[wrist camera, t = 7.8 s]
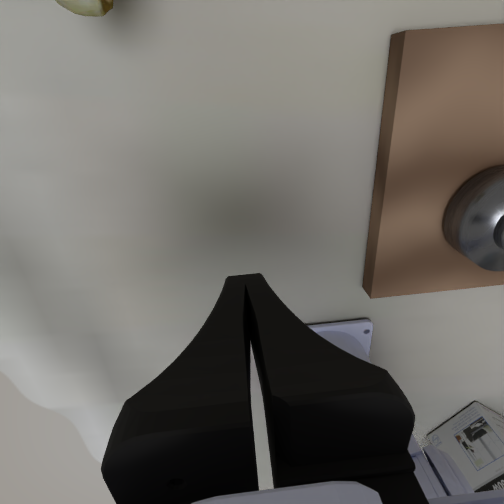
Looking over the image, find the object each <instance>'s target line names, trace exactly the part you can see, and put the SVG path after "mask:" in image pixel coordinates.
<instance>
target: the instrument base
mask: <svg viewBox="0 0 504 504" xmlns="http://www.w3.org/2000/svg"><path fill="white" fill-rule="evenodd" d="M502 165H504V24H491V25H477V26H463V27H448V28H434V29H420V30H406V31H402V32H399V33H396V34H392V35H391V42H390V51H389V60H388V68H387V77H386V86H385V95H384V103H383V112H382V121H381V129H380V138H379V147H378V156H377V164H376V173H375V182H374V191H373V199H372V208H371V217H370V226H369V234H368V243H367V252H366V260H365V269H364V278H363V288H364V290H365V291H366V293H367V294H368V296H369V297H370V299H372V298H381V297H391V296H400V295H409V294H419V293H428V292H438V291H447V290H457V289H466V288H475V287H485V286H494V285H504V271H489V270H485V269H483V268H481V267H479V266H478V265H476V264H475V263H474V262H472V261H471V260H469V259H468V258H467V257H465V256H464V255H462V254H461V253H459V252H458V251H457V250H455V249H454V248H453V247H452V246H451V245H450V244H449V243H448V241H447V239H446V237H445V233H444V220H445V215H446V212H447V209H448V207H449V205H450V203H451V202H452V200H453V198H454V197H455V195H456V194H457V193H458V191H459V190H460V189H461V188H462V187H463V186H464V185H465V184H466V183H467V182H468V181H470V180H471V179H472V178H474V177H475V176H477V175H478V174H480V173H482V172H484V171H486V170H488V169H491V168H493V167H497V166H502Z"/></svg>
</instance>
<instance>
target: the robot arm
mask: <svg viewBox="0 0 504 504" xmlns="http://www.w3.org/2000/svg"><path fill="white" fill-rule="evenodd" d="M366 329H367V330H366ZM364 330H366V331H364ZM372 331H373V323H372V322H371V320H369V319H364V320H355V321H345V322H336V323H327V324H318V325H309V326H307V325H306V324H304V323H303V322H302V321H301V320H300V319H299V318H298V317H297V316H295V315H294V314H293V313H292V312H291V311H290V310H289V309H288V308H287V306H286V305H285V304H284V303H283V302H282V301H281V300H280V299H279V297H278V296H277V295H276V294H275V293H274V291H273V290H272V289H271V287H270V286H269V285H268V283H267V282H266V280H265V278H264V277H263V275H262V274H260V273H256V274H246V275H237V276H228V277H227V278H226V280H225V284H224V287H223V289H222V292H221V294H220V296H219V298H218V300H217V302H216V304H215V306H214V308H213V310H212V312H211V313H210V315H209V317H208V318H207V320H206V322H205V323H204V325H203V326H202V328H201V329H200V331H199V332H198V334H197V335H196V336H195V337H194V339H193V340H192V341H191V343H190V344H189V345H188V346H187V347H186V348H185V350H184V351H183V352H182V353H181V354H180V355H179V356H178V357H177V359H176V360H175V361H174V362H173V363H172V364H170V365H169V366H168V367H167V368H166V369H165V370H164V371H163V372H162V373H161V374H160V375H159V376H158V377H156V378H155V379H154V380H153V381H152V382H150V383H149V384H148V385H146V386H145V387H144V388H142V389H141V390H140V391H139V392H137V393H136V394H135V395H133V396H132V397H131V398H129V399H128V400H126V401H125V403H124V405H123V407H122V410H121V412H120V414H119V416H118V418H117V420H116V423H115V425H114V427H113V430H112V433H111V435H110V438H109V442H108V445H107V448H106V451H105V455H104V458H103V462H102V466H101V472H102V475H103V479H104V481H105V483H106V484H107V486H108V488H109V490H110V492H111V494H112V496H113V498H114V500H115V502H116V504H504V489H498V490H491V491H483V492H476V493H475V492H474V490H473V489H472V487H471V486H470V484H469V482H468V481H467V479H466V478H465V476H464V475H463V473H462V472H461V470H460V469H459V467H458V466H457V464H456V463H455V462H454V460H453V459H452V458H451V456H450V455H449V454H447V453H446V452H444V451H442V450H440V449H437V448H436V447H435V446H434V445H428V446H426V447H423V450H424V453H425V455H426V457H427V459H426V458H425V456H424V454H423V453H422V451H421V449H420V447H419V445H418V443H417V441H416V440H415V438H414V436H413V434H412V431H413V428H414V422H415V414H414V412H413V409H412V407H411V405H410V403H409V401H408V400H407V398H406V396H405V395H404V393H403V392H402V390H401V389H400V388H399V386H398V385H397V383H396V382H395V381H394V379H393V378H392V377H391V376H390V374H389V373H388V372H387V371H386V370H384V369H382V368H380V367H378V366H375V365H373V364H372V363H371V362H370V360H369V352H370V345H371V338H372ZM250 340H251V345H252V350H253V354H254V359H255V363H256V368H257V372H258V377H259V381H260V386H261V391H262V396H263V402H264V410H265V418H266V427H267V435H268V443H269V451H270V460H271V468H272V476H273V485H274V489H268V490H260V491H259V486H258V475H257V464H256V453H255V442H254V432H253V421H252V410H251V394H250ZM427 460H428V461H427ZM428 462H429V463H428Z"/></svg>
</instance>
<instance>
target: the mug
mask: <svg viewBox="0 0 504 504" xmlns="http://www.w3.org/2000/svg"><path fill="white" fill-rule="evenodd" d="M56 1H57V3H58V4H60V5H61V6H63V7H64V8H66V9H68V10H70V11H71V12H73V13H75V14H79V15H83V16H104V15H105V14H106V13H107V12H108V11H109V10H110V9H112V8H113V0H56Z"/></svg>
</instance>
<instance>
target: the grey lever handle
mask: <svg viewBox="0 0 504 504" xmlns="http://www.w3.org/2000/svg"><path fill="white" fill-rule="evenodd" d="M444 233H445V237H446V239H447V241H448V243H449V244H450V245H451V246H452V247H453V248H454V249H455V250H457V251H458V252H459V253H461V254H462V255H464V256H465V257H467V258H468V259H469V260H471V261H472V262H474V263H475V264H476V265H478V266H479V267H481V268H483V269H485V270H489V271H504V165H502V166H497V167H493V168H491V169H488V170H486V171H484V172H482V173H480V174H478V175H477V176H475V177H474V178H472V179H471V180H470V181H468V182H467V183H466V184H465V185H464V186H463V187H462V188H461V189H460V190H459V191H458V193H457V194H456V195H455V197H454V198H453V200H452V202H451V203H450V205H449V207H448V209H447V212H446V215H445V220H444Z"/></svg>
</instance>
